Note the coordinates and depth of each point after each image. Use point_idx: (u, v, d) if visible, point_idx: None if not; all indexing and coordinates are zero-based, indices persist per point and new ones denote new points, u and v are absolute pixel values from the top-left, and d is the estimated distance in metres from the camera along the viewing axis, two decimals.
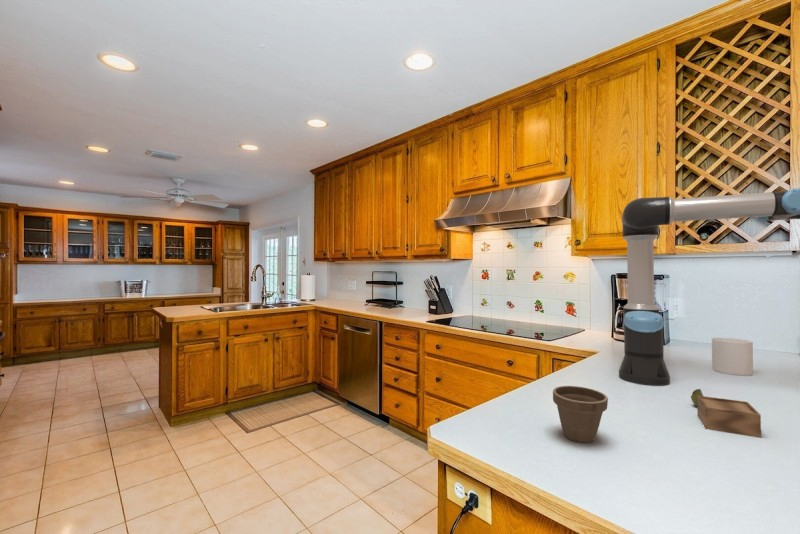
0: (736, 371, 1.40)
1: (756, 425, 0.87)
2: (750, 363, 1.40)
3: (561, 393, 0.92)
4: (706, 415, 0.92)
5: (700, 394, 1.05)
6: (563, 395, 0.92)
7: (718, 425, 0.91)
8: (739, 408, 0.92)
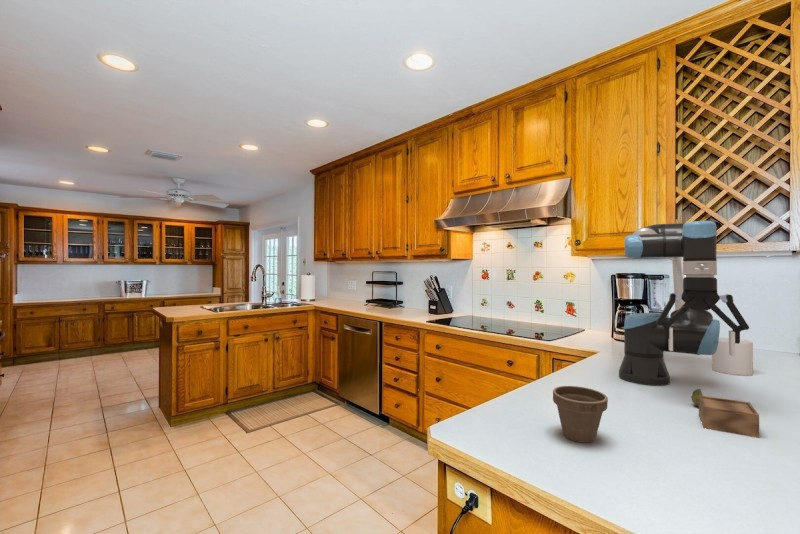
0: (736, 371, 1.40)
1: (755, 425, 0.87)
2: (750, 363, 1.40)
3: (561, 393, 0.92)
4: (704, 414, 0.92)
5: (700, 394, 1.05)
6: (563, 395, 0.92)
7: (716, 425, 0.91)
8: (740, 408, 0.92)
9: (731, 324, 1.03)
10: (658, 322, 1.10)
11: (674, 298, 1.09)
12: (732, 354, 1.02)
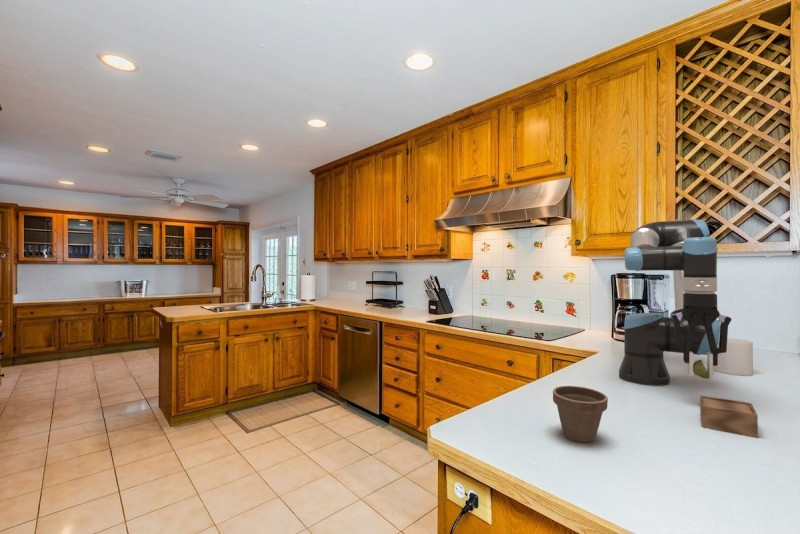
0: (736, 371, 1.40)
1: (753, 425, 0.87)
2: (750, 363, 1.40)
3: (561, 393, 0.92)
4: (702, 414, 0.93)
5: (701, 364, 1.05)
6: (563, 395, 0.92)
7: (714, 424, 0.91)
8: (740, 408, 0.92)
9: (713, 346, 1.05)
10: (678, 347, 1.09)
11: (677, 319, 1.09)
12: (710, 376, 1.05)
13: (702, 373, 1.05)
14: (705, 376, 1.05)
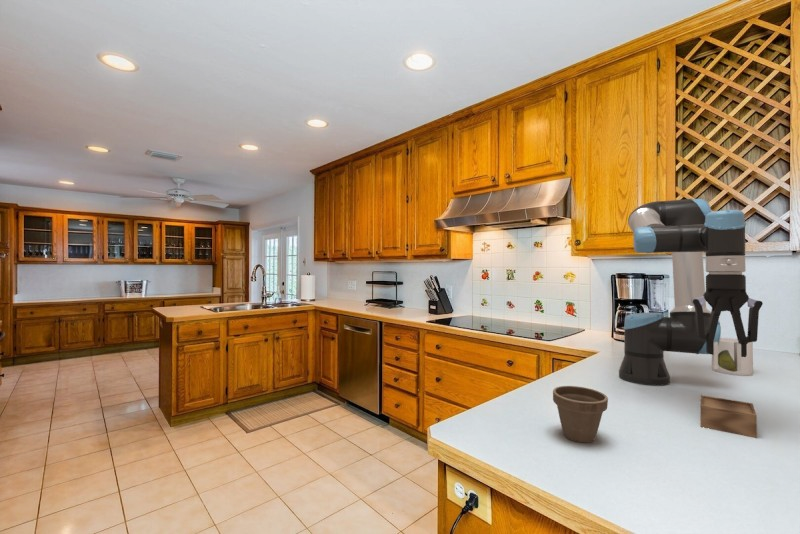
0: (736, 371, 1.40)
1: (752, 425, 0.87)
2: (750, 363, 1.40)
3: (561, 393, 0.92)
4: (701, 413, 0.93)
5: (728, 355, 0.92)
6: (563, 395, 0.92)
7: (713, 424, 0.91)
8: (740, 408, 0.92)
9: (741, 334, 0.92)
10: (700, 336, 0.95)
11: (699, 303, 0.96)
12: (738, 369, 0.92)
13: (729, 365, 0.92)
14: (732, 368, 0.92)
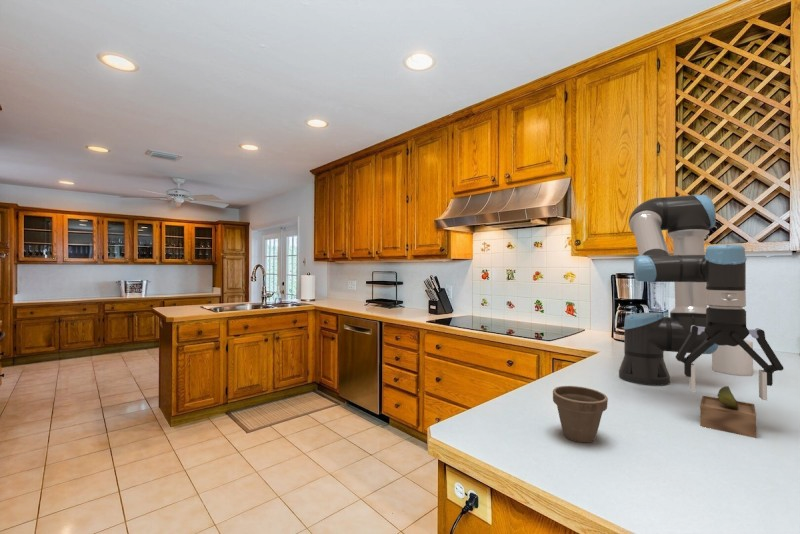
0: (736, 371, 1.40)
1: (751, 425, 0.87)
2: (750, 363, 1.40)
3: (561, 393, 0.92)
4: (701, 413, 0.93)
5: (729, 392, 0.92)
6: (563, 395, 0.92)
7: (713, 424, 0.92)
8: (740, 409, 0.92)
9: (762, 363, 0.90)
10: (678, 358, 0.98)
11: (696, 331, 0.96)
12: (763, 398, 0.90)
13: (730, 403, 0.92)
14: (733, 406, 0.92)
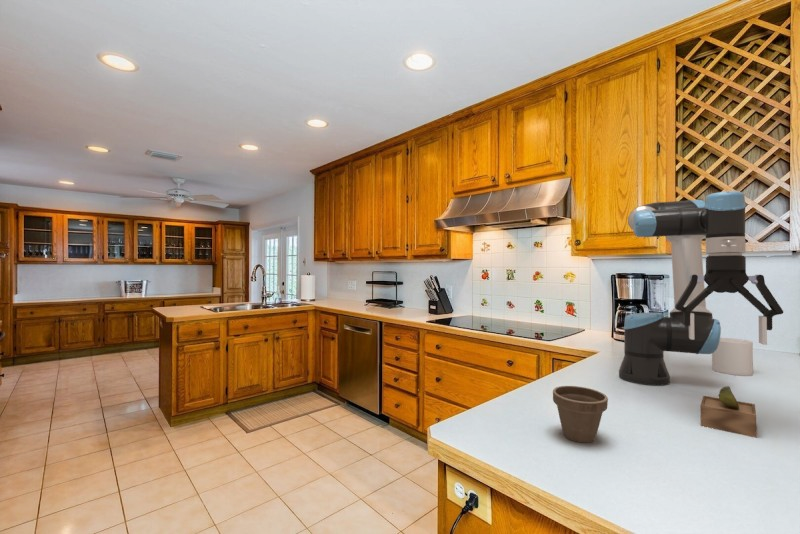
0: (736, 371, 1.40)
1: (752, 425, 0.87)
2: (750, 363, 1.40)
3: (561, 393, 0.92)
4: (701, 413, 0.93)
5: (730, 392, 0.92)
6: (563, 395, 0.92)
7: (713, 424, 0.92)
8: (741, 409, 0.92)
9: (762, 308, 0.90)
10: (677, 307, 0.98)
11: (696, 280, 0.96)
12: (763, 342, 0.90)
13: (730, 403, 0.92)
14: (734, 406, 0.92)
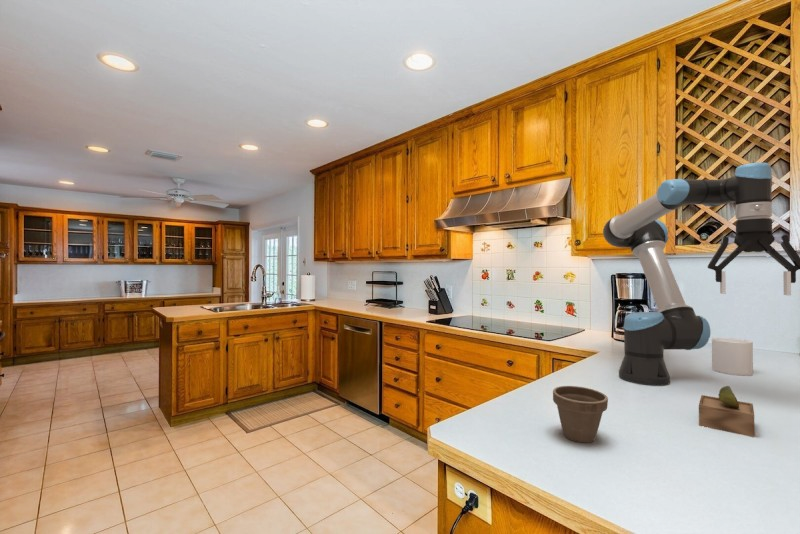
0: (736, 371, 1.40)
1: (750, 425, 0.88)
2: (750, 363, 1.40)
3: (561, 393, 0.92)
4: (700, 412, 0.94)
5: (730, 392, 0.92)
6: (563, 395, 0.92)
7: (712, 423, 0.92)
8: (739, 408, 0.93)
9: (787, 264, 1.03)
10: (710, 266, 1.12)
11: (727, 241, 1.10)
12: (788, 293, 1.03)
13: (731, 402, 0.92)
14: (735, 405, 0.92)
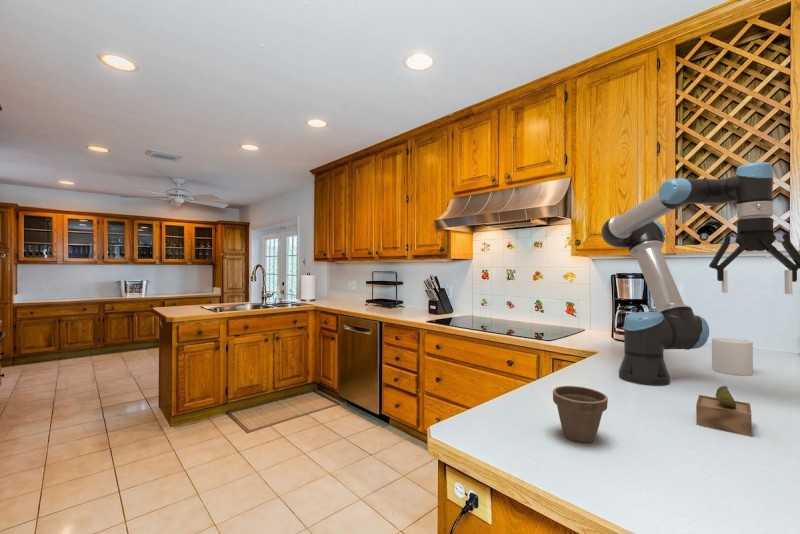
0: (736, 371, 1.40)
1: (747, 424, 0.88)
2: (750, 363, 1.40)
3: (561, 393, 0.92)
4: (697, 412, 0.94)
5: (727, 392, 0.93)
6: (563, 395, 0.92)
7: (709, 423, 0.92)
8: (736, 408, 0.93)
9: (788, 263, 1.04)
10: (712, 265, 1.12)
11: (729, 240, 1.10)
12: (789, 292, 1.04)
13: (728, 402, 0.92)
14: (731, 405, 0.92)
